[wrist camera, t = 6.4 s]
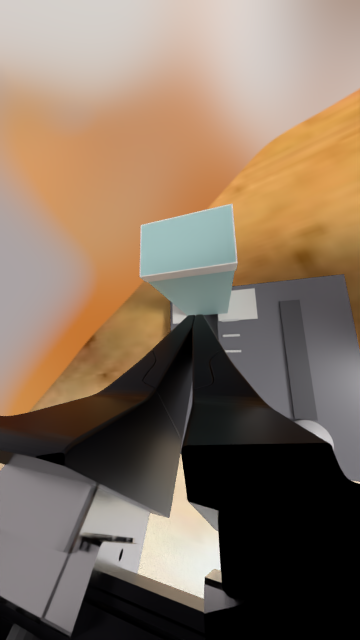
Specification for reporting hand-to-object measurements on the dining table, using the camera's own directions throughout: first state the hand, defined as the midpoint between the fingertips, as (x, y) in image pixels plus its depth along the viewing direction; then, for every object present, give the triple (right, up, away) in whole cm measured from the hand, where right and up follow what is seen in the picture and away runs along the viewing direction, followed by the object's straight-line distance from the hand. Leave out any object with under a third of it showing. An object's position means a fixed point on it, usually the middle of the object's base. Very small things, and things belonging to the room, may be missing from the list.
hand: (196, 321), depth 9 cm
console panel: (+6, -4, +7) cm, 10 cm away
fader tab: (+2, +2, +9) cm, 9 cm away
